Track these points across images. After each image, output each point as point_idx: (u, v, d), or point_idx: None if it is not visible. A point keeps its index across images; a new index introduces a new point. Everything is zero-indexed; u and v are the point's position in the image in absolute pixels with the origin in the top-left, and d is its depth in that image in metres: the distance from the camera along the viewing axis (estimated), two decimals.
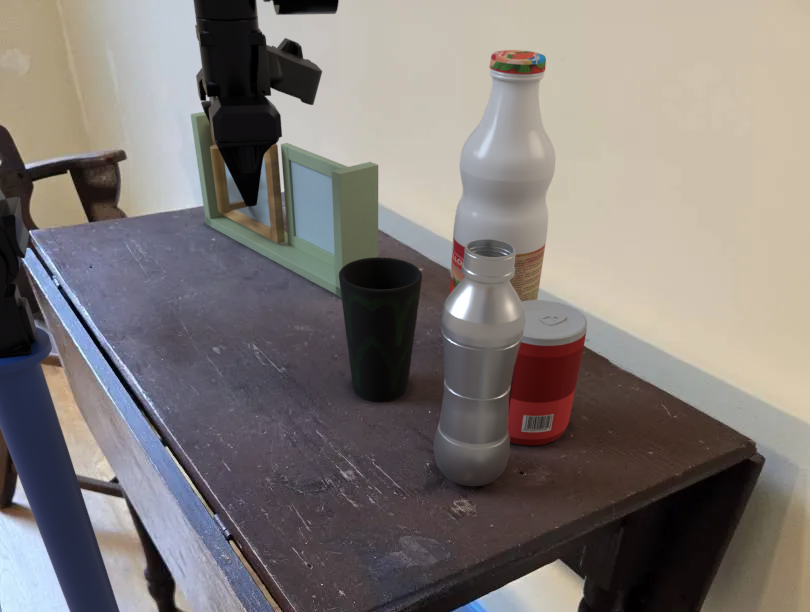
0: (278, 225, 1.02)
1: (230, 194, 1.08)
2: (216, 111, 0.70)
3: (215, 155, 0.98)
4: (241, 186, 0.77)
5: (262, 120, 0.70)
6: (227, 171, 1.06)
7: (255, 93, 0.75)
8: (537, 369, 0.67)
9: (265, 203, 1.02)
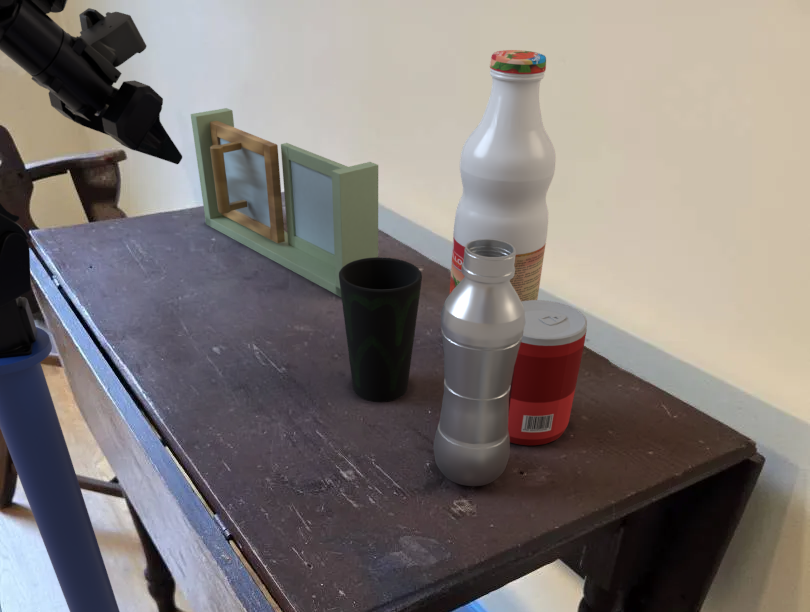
0: (278, 225, 1.02)
1: (230, 194, 1.08)
2: (116, 130, 0.81)
3: (215, 155, 0.98)
4: (165, 156, 0.89)
5: (145, 104, 0.81)
6: (227, 171, 1.06)
7: (111, 83, 0.84)
8: (537, 369, 0.67)
9: (265, 203, 1.02)
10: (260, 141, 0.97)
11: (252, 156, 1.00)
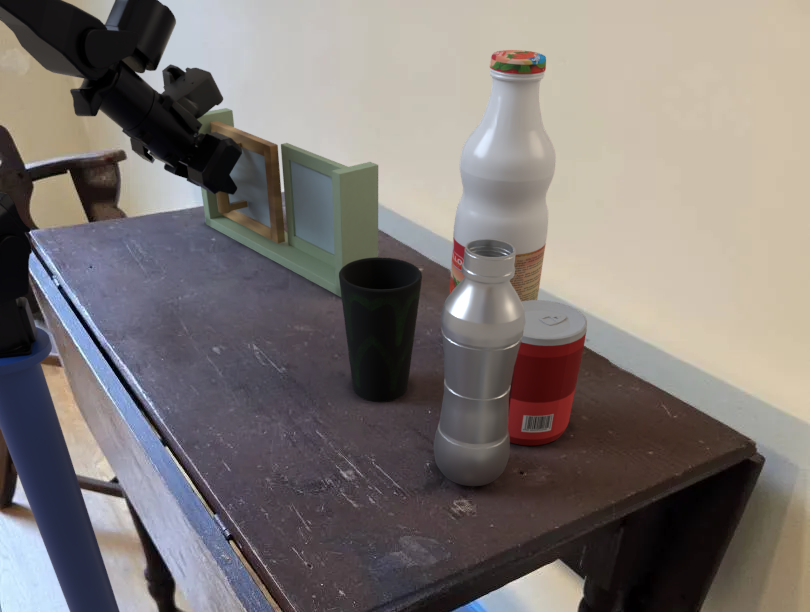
0: (278, 225, 1.02)
1: (230, 194, 1.08)
2: (201, 178, 0.90)
3: None
4: (223, 188, 1.00)
5: (227, 154, 0.90)
6: None
7: (193, 133, 0.93)
8: (537, 369, 0.67)
9: (265, 203, 1.02)
10: (260, 141, 0.97)
11: (252, 156, 1.00)
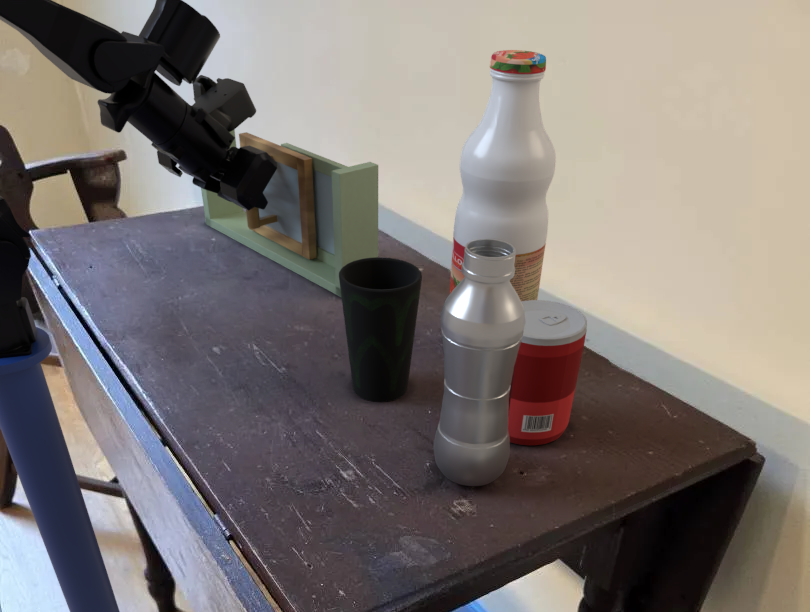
0: (310, 241, 0.98)
1: None
2: (236, 194, 0.86)
3: None
4: None
5: (262, 169, 0.86)
6: None
7: (225, 147, 0.89)
8: (537, 369, 0.67)
9: (297, 218, 0.98)
10: (293, 154, 0.93)
11: (284, 170, 0.96)
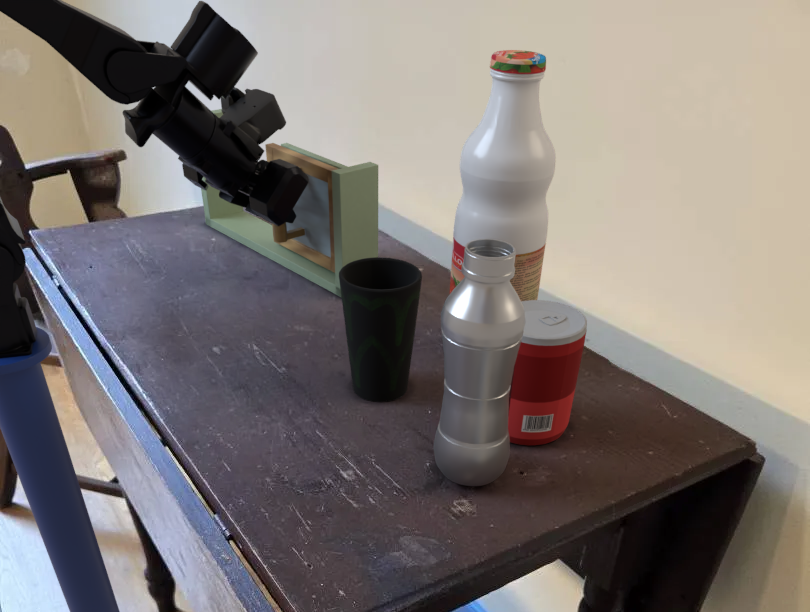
0: None
1: None
2: (266, 210, 0.83)
3: None
4: None
5: (293, 184, 0.83)
6: None
7: (254, 160, 0.86)
8: (537, 369, 0.67)
9: (326, 232, 0.95)
10: (324, 167, 0.90)
11: (313, 182, 0.93)
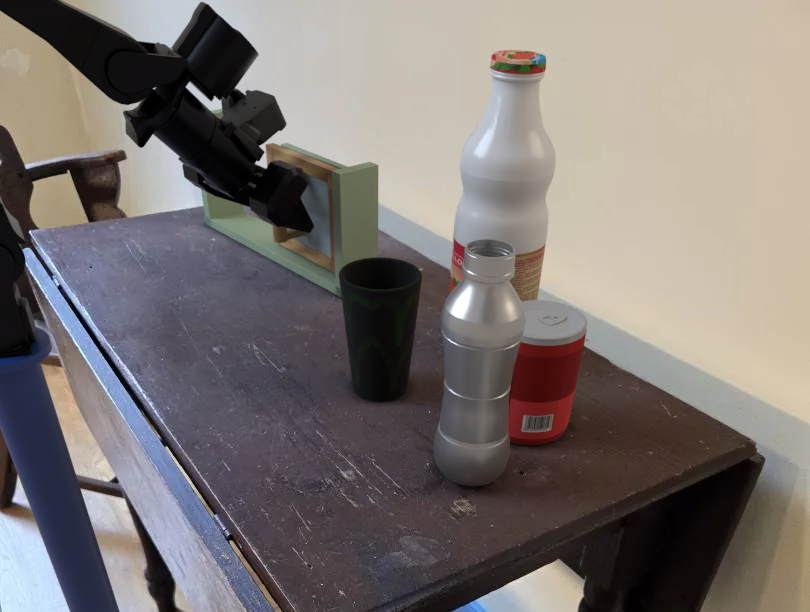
0: None
1: None
2: (266, 211, 0.83)
3: None
4: (300, 227, 0.91)
5: (293, 185, 0.83)
6: None
7: (254, 161, 0.86)
8: (537, 369, 0.67)
9: (326, 232, 0.95)
10: (324, 167, 0.90)
11: (313, 182, 0.93)
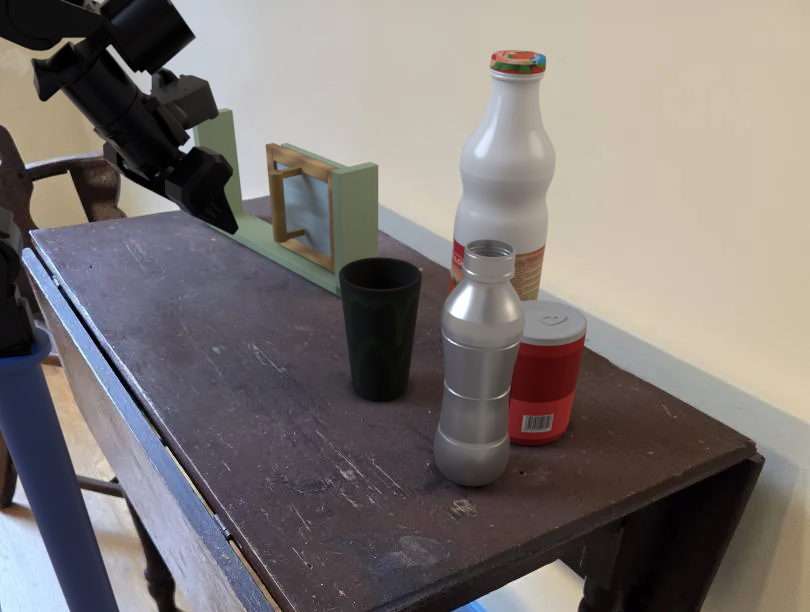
0: None
1: None
2: (180, 194, 0.76)
3: (274, 181, 0.91)
4: (222, 225, 0.84)
5: (215, 172, 0.76)
6: None
7: (178, 145, 0.79)
8: (537, 369, 0.67)
9: (326, 232, 0.95)
10: (324, 167, 0.90)
11: (313, 182, 0.93)
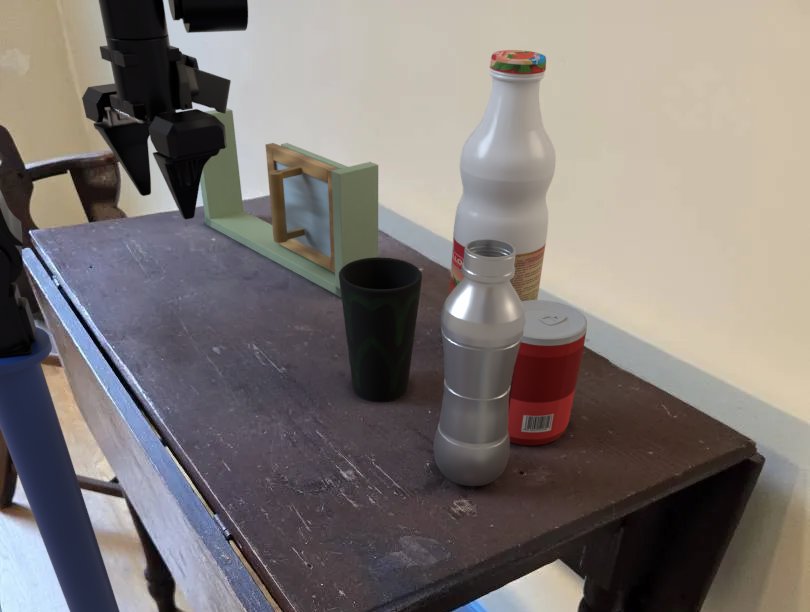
0: None
1: None
2: (169, 129, 0.71)
3: (274, 181, 0.91)
4: (182, 200, 0.79)
5: (211, 132, 0.73)
6: None
7: (177, 108, 0.77)
8: (537, 369, 0.67)
9: (326, 232, 0.95)
10: (324, 167, 0.90)
11: (313, 182, 0.93)
